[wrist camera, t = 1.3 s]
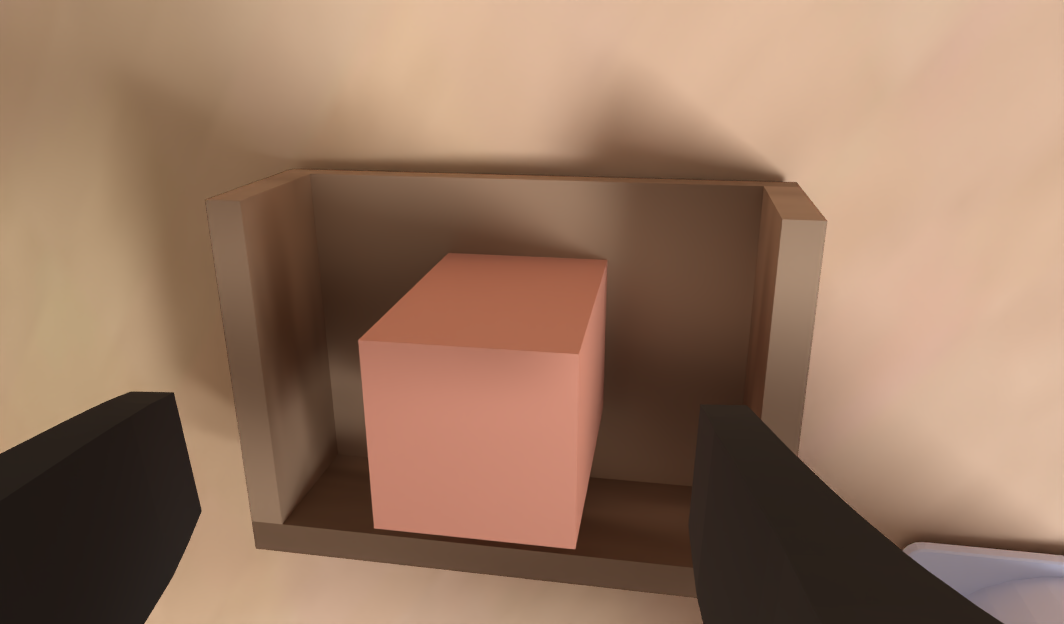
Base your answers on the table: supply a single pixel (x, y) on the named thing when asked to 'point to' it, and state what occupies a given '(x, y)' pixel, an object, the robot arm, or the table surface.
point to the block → (487, 399)
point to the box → (514, 230)
